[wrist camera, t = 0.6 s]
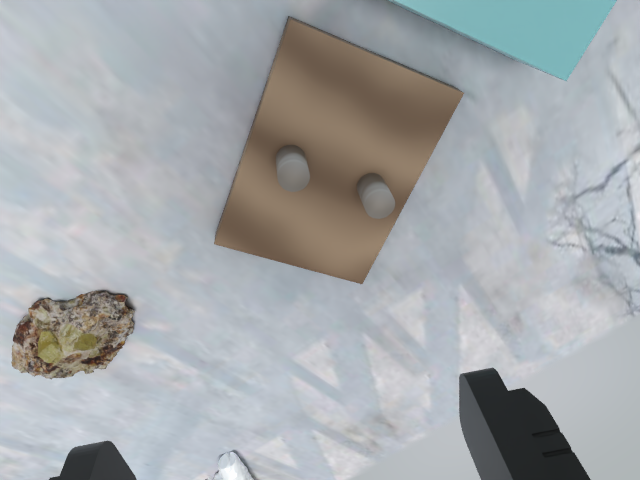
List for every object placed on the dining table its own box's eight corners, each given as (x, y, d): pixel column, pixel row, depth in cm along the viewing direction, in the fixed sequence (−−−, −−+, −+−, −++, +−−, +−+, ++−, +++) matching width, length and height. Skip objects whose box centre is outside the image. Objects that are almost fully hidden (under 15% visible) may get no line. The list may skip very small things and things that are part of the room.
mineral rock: (66, 405, 40) (-25, 374, 35) (71, 362, 43) (-13, 326, 38) (166, 345, 39) (87, 302, 33) (164, 304, 42) (90, 258, 36)
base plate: (288, 16, 29) (293, 25, 25) (455, 87, 32) (482, 105, 28) (215, 233, 36) (210, 267, 32) (358, 273, 39) (369, 308, 35)
